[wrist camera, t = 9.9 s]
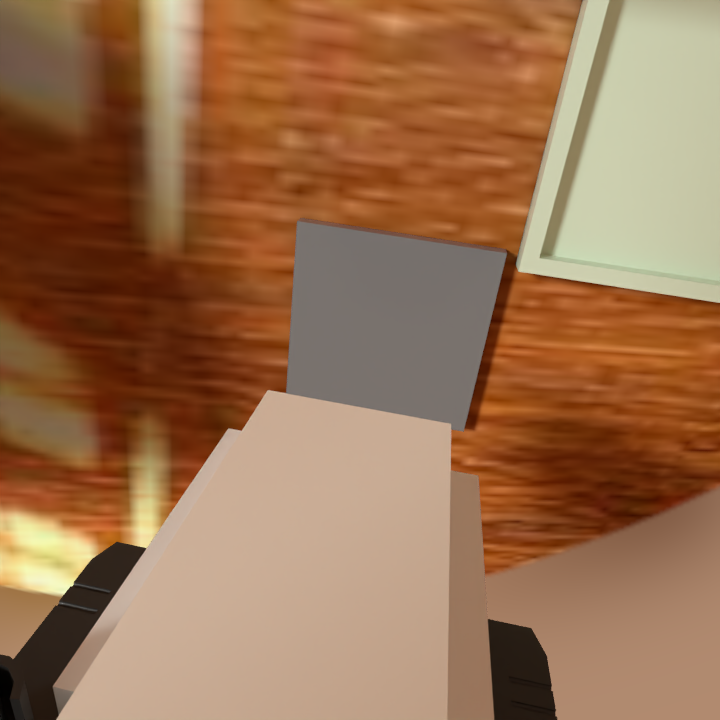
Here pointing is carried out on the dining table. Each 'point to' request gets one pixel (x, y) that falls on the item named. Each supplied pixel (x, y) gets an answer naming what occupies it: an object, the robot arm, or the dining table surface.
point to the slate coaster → (390, 319)
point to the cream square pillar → (296, 580)
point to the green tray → (634, 153)
